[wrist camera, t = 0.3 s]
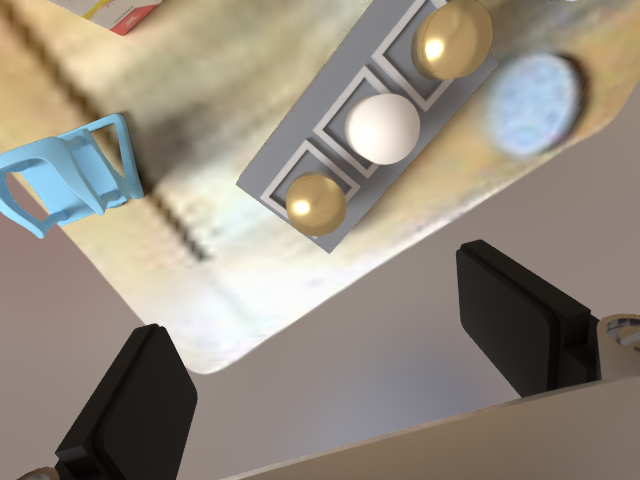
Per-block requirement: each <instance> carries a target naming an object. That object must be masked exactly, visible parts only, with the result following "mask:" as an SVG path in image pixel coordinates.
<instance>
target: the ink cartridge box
mask: <svg viewBox="0 0 640 480" xmlns="http://www.w3.org/2000/svg"><path fill="white" fill-rule="evenodd" d="M48 1H50V2H52V3H54V4H56V5H58V6H60V7H62V8H64V9H66V10H68V11H70V12H72V13H74V14H76V15H78V16H81V17H83V18H85V19H87V20H89V21H91V22H93V23H95V24H97V25H100V26H102V27H104V28H106V29H108V30H110V31H112V32H115V33H117V34H119V35H121V36H124V35H125V34H126V33H127V32H128V31H129V30H130V29H131V28H132V27H133V26H135V25H136V24H137V23H138V22H139V21H140V20H141V19H142V18H144V17H145V16H146V15H147V14H148V13H149V12H150V11H151V10H153V9H154V8H155V7H156V6H157V5H158V4H159V3H161V2H162V1H163V0H48Z"/></svg>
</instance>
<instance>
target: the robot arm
mask: <svg viewBox="0 0 640 480" xmlns="http://www.w3.org/2000/svg"><path fill="white" fill-rule="evenodd" d="M456 263H457V277H458V290H459V306H460V319H461V323H462V326H463V328H464V329H465V331H466V332H467V333H468V335H469V336H470V337H471V338H472V339H473V340H474V342H475V343H476V344H477V345H478V346H479V348H480V349H481V350H482V351H483V352H484V353H485V355H486V356H487V357H488V358H489V359H490V361H491V362H492V363H493V364H494V365H495V367H496V368H497V369H498V370H499V371H500V373H501V374H502V375H503V376H504V377H505V378H506V379H507V381H508V382H509V383H510V384H511V386H512V387H513V388H514V389H515V390H516V391H517V393H518V394H519V395H520V396H521V397H522V398H520V399H516V400H512V401H508V402H504V403H500V404H496V405H492V406H489V407H485V408H481V409H477V410H474V411H470V412H466V413H462V414H458V415H454V416H451V417H447V418H443V419H439V420H436V421H432V422H428V423H425V424H421V425H417V426H413V427H409V428H406V429H402V430H398V431H394V432H391V433H387V434H383V435H380V436H376V437H372V438H369V439H365V440H362V441H358V442H354V443H350V444H346V445H343V446H339V447H335V448H332V449H328V450H324V451H321V452H317V453H314V454H310V455H306V456H302V457H299V458H295V459H291V460H288V461H284V462H281V463H277V464H273V465H270V466H266V467H263V468H259V469H256V470H252V471H248V472H244V473H241V474H237V475H234V476H231V477H227V478H223V479H219V480H640V315H636V314H615V315H610V316H607V317H604V318H602V319H601V320H599V319H597V318H596V317H594V316H592V315H591V310H590V309H589V308H587V307H585V306H584V305H582V304H581V303H579V302H578V301H576V300H575V299H573V298H572V297H570V296H568V295H567V294H565V293H564V292H562V291H560V290H559V289H558V288H556V287H554V286H553V285H551V284H550V283H548V282H547V281H545V280H543V279H542V278H541V277H539V276H537V275H536V274H534V273H533V272H531V271H530V270H528V269H527V268H525V267H523V266H522V265H520V264H519V263H517V262H515V261H514V260H513V259H511V258H510V257H508V256H506V255H505V254H503V253H502V252H500V251H499V250H497V249H496V248H494V247H492V246H491V245H489V244H488V243H486V242H485V241H483V240H476V241H472V242H468V243H464V244H462V245H461V247H460V249H459V250H457V251H456ZM196 404H197V391H196V388H195V386H194V384H193V382H192V380H191V378H190V376H189V374H188V372H187V370H186V368H185V366H184V364H183V362H182V360H181V358H180V356H179V354H178V352H177V350H176V348H175V346H174V344H173V342H172V340H171V338H170V336H169V334H168V332H167V330H166V328H165V327H163V326H161V327H160V326H159V325H158V324H155V323H154V324H150V325H146V326H143V327H139V328H136V329H134V331H133V332H132V334H131V335H130V337H129V339H128V340H127V341H126V343H125V345H124V346H123V348H122V349H121V351H120V352H119V354H118V355H117V357H116V358H115V360H114V362H113V363H112V365H111V366H110V368H109V369H108V371H107V372H106V374H105V376H104V377H103V379H102V380H101V382H100V383H99V385H98V386H97V388H96V390H95V391H94V393H93V394H92V396H91V397H90V399H89V400H88V402H87V404H86V405H85V407H84V408H83V410H82V411H81V413H80V415H79V416H78V417H77V419H76V421H75V422H74V424H73V425H72V427H71V429H70V430H69V432H68V433H67V435H66V436H65V438H64V439H63V441H62V442H61V444H60V445H59V447H58V449H57V450H56V452H55V454H56V455H57V456H58V458H59V461H58V462H57V464H56V466H55V467H54V468H52V467H48V466H47V467H42V468H38V469H35V470H33V471H31V472H28V473H26V474H24V475H23V476H21V477H20V478H18V479H17V480H176V477H177V474H178V470H179V466H180V463H181V459H182V455H183V452H184V448H185V444H186V441H187V437H188V433H189V430H190V426H191V422H192V419H193V415H194V411H195V407H196Z"/></svg>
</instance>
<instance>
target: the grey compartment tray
mask: <svg viewBox="0 0 640 480" xmlns="http://www.w3.org/2000/svg"><path fill="white" fill-rule="evenodd" d="M448 2H450V1H449V0H373V1H372V3H371V4H370V5H369V7H368V8H367V9H366V11H365V12H364V13H363V15H362V16H361V17H360V19H359V20H358V21H357V22H356V24H355V25H354V26H353V28H352V29H351V30H350V32H349V33H348V34H347V36H346V37H345V38H344V40H343V41H342V42H341V44H340V45H339V46H338V47H337V49H336V50H335V51H334V53H333V54H332V55H331V57H330V58H329V59H328V61H327V62H326V63H325V65H324V66H323V67H322V69H321V70H320V71H319V72H318V74H317V75H316V76H315V78H314V79H313V80H312V82H311V83H310V84H309V86H308V87H307V88H306V90H305V91H304V92H303V94H302V95H301V96H300V97H299V99H298V100H297V101H296V103H295V104H294V105H293V107H292V108H291V109H290V111H289V112H288V113H287V115H286V116H285V117H284V119H283V120H282V121H281V122H280V124H279V125H278V126H277V128H276V129H275V130H274V132H273V133H272V134H271V136H270V137H269V138H268V140H267V141H266V142H265V144H264V145H263V146H262V147H261V149H260V150H259V151H258V153H257V154H256V155H255V157H254V158H253V159H252V161H251V162H250V163H249V165H248V166H247V167H246V169H245V170H244V171H243V172H242V174H241V175H240V177H239V179H238V181H237V183H236V185H237V186H238V187H240V188H241V189H242V190H244V191H245V192H246V193H248V194H249V195H251V196H252V197H253V198H255V199H256V200H257V201H259V202H260V203H261V204H263V205H264V206H265V207H267V208H268V209H269V210H271V211H272V212H274V213H275V214H276V215H278V216H279V217H280V218H282V219H283V220H284V221H286V222H287V223H288V224H290V225H291V226H292V224H291V223H290V221H289V219H288V216H287V210H286V192H287V189H288V187H289V185H290V183H291V182H292V181H293V180H294V179H295V178H296V177H297V176H299V175H300V174H302V173H305V172H309V171H319V172H323V173H325V174H327V175H329V176H330V177H332V178H333V179H334V181H335V182H336V183H337V184H338V186H339V187H340V188H341V190H342V191H343V193H344V195H345V197H346V201H347V211H346V215H345V218H344V220H343V222H342V223H341V225H340V226H339V227H338V228H337V229H336V230H334V231H333V232H331V233H329V234H327V235H324V236H318V237H314V236H308V235H305V234H303V235H305V236H306V237H307V238H309V239H310V240H311V241H313V242H314V243H315V244H317V245H318V246H320V247H321V248H322V249H324V250H325V251H326V252H328V253H329V254H330V253H331V252H332V251H333V250H334V248H335V247H336V246H337V245H338V244H339V243H340V242H341V241H342V239H343V238H344V237H345V236H346V235H347V234H348V233H349V232H350V230H351V229H352V228H353V227H354V226H355V225H356V224H357V223H358V221H359V220H360V219H361V218H362V217H363V216H364V215H365V214H366V213H367V211H368V210H369V209H370V208H371V207H372V206H373V205H374V204H375V202H376V201H377V200H378V199H379V198H380V197H381V196H382V195H383V193H384V192H385V191H386V190H387V189H388V188H389V187H390V186H391V184H392V183H393V182H394V181H395V180H396V179H397V178H398V177H399V176H400V174H401V173H402V172H403V171H404V170H405V169H406V168H407V167H408V165H409V164H410V163H411V162H412V161H413V160H414V159H415V158H416V156H417V155H418V154H419V153H420V152H421V151H422V150H423V149H424V147H425V146H426V145H427V144H428V143H429V142H430V141H431V140H432V139H433V137H434V136H435V135H436V134H437V133H438V132H439V131H440V130H441V128H442V127H443V126H444V125H445V124H446V123H447V122H448V121H449V119H450V118H451V117H452V116H453V115H454V114H455V113H456V112H457V110H458V109H459V108H460V107H461V106H462V105H463V104H464V103H465V102H466V100H467V99H468V98H469V97H470V96H471V95H472V94H473V93H474V91H475V90H476V89H477V88H478V87H479V86H480V85H481V84H482V82H483V81H484V80H485V79H486V78H487V77H488V76H489V75H490V73H491V72H492V71H493V70H494V69H495V68H496V67H497V66H498V65H499V63H498V62H497V60H496V59H495V58H494V57H493V55H492V54H491V53H490V52H489V53H488V55H487V57H486V59H485V60H484V62H483V63H482V64H481V65H480V67H479V68H478V69H476V70H475V71H474V72H472V73H471V74H469V75H467V76H465V77H461V78H455V79H449V80H442V81H432V80H429V79H426V78H424V77H423V76H422V75H421V74H420V73H419V72H418V71H417V70H416V68H415V66H414V64H413V62H412V58H411V41H412V37H413V34H414V32H415V30H416V28H417V26H418V25H419V23H420V22H421V21H422V20H423V19H424V18H425V17H426V16H427V15H429V14H430V13H432V12H434V11H435V10H437V9H439V8H440V7H442V6H444V5H445V4H447V3H448ZM381 94H397V95H400V96H402V97H405V98H406V99H408V100H409V101H410V102H411V103H412V104H413V106H414V107H415V109H416V110H417V113H418V115H419V120H420V133H419V137H418V140H417V142H416V145H415V146H414V148H413V149H412V151H411V152H410V153H409V154H408V155H407V156H406V157H405V158H403V159H402V160H400V161H398V162H396V163H392V164H385V165H383V164H377V163H374V162H371V161H370V160H368V159H366V158H365V157H363V156H361V155H360V154H358V153H356V152H355V151H354V150H353V149H352V148H351V147H350V146H349V144H348V142H347V140H346V137H345V131H344V126H345V120H346V117H347V114H348V112H349V110H350V109H351V108H352V106H353V105H354V104H355V103H356V102H358V101H359V100H360V99H362V98H364V97H367V96H372V95H381ZM292 227H293V226H292Z"/></svg>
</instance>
